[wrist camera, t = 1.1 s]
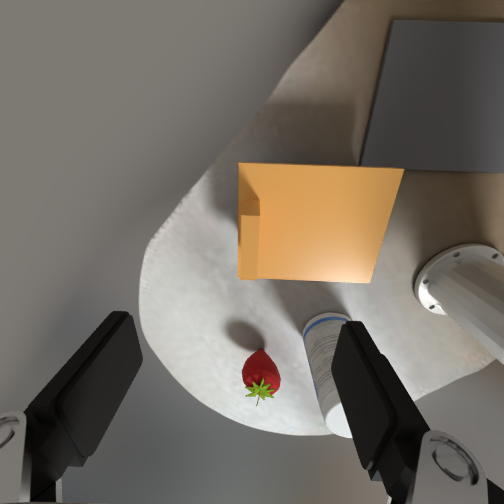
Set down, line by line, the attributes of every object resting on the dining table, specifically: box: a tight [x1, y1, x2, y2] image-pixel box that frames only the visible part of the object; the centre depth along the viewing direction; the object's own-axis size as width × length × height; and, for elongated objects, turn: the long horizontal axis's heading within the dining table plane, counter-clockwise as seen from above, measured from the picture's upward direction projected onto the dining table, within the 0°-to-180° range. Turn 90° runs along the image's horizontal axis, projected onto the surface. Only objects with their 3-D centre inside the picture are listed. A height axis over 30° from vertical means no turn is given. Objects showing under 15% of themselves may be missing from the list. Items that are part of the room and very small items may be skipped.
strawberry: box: [242, 349, 281, 406], centre depth 39 cm, size 6×8×10 cm
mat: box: [360, 20, 504, 173], centre depth 26 cm, size 18×14×1 cm
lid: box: [238, 162, 404, 283], centre depth 23 cm, size 16×13×8 cm
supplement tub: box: [303, 313, 352, 438], centre depth 34 cm, size 10×10×15 cm
